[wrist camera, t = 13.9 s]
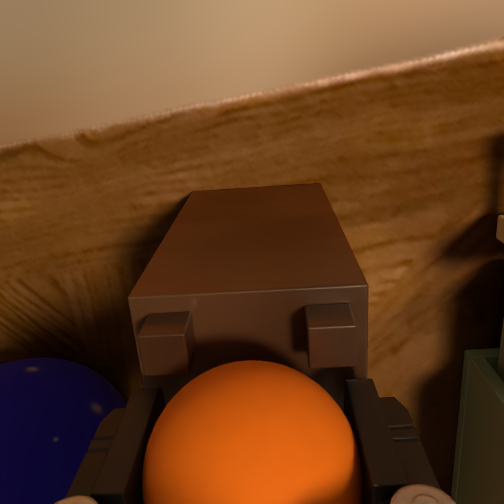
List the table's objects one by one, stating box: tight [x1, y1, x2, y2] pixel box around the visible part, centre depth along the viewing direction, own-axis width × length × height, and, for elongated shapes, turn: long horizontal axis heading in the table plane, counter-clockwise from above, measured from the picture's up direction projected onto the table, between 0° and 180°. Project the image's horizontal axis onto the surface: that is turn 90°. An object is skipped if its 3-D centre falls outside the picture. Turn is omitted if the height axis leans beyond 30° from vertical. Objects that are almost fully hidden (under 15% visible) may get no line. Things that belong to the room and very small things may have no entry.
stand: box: [128, 183, 368, 413], centre depth 19 cm, size 6×6×13 cm
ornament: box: [0, 357, 126, 504], centre depth 22 cm, size 11×9×15 cm
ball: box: [142, 360, 363, 504], centre depth 11 cm, size 5×5×5 cm
